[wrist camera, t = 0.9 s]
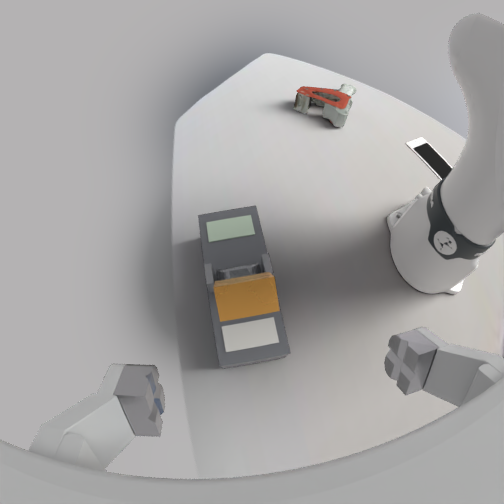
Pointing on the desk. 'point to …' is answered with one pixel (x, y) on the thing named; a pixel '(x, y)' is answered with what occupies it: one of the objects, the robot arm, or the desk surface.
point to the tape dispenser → (326, 102)
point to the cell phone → (430, 157)
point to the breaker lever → (245, 292)
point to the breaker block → (230, 255)
